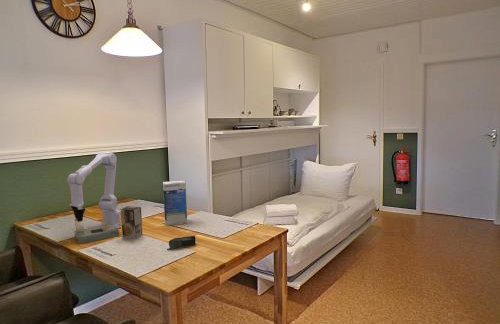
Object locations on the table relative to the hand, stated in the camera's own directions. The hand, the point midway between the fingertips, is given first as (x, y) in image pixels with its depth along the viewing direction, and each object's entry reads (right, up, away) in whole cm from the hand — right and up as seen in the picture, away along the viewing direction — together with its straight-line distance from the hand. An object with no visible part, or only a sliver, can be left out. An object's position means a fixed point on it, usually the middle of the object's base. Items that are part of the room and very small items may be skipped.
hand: (78, 219), depth 188 cm
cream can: (0, -6, +1) cm, 6 cm away
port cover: (+17, -5, +4) cm, 18 cm away
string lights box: (+48, -6, +24) cm, 54 cm away
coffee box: (+29, -10, +1) cm, 31 cm away
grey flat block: (+9, -10, +1) cm, 13 cm away
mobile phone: (+59, -11, -16) cm, 63 cm away
